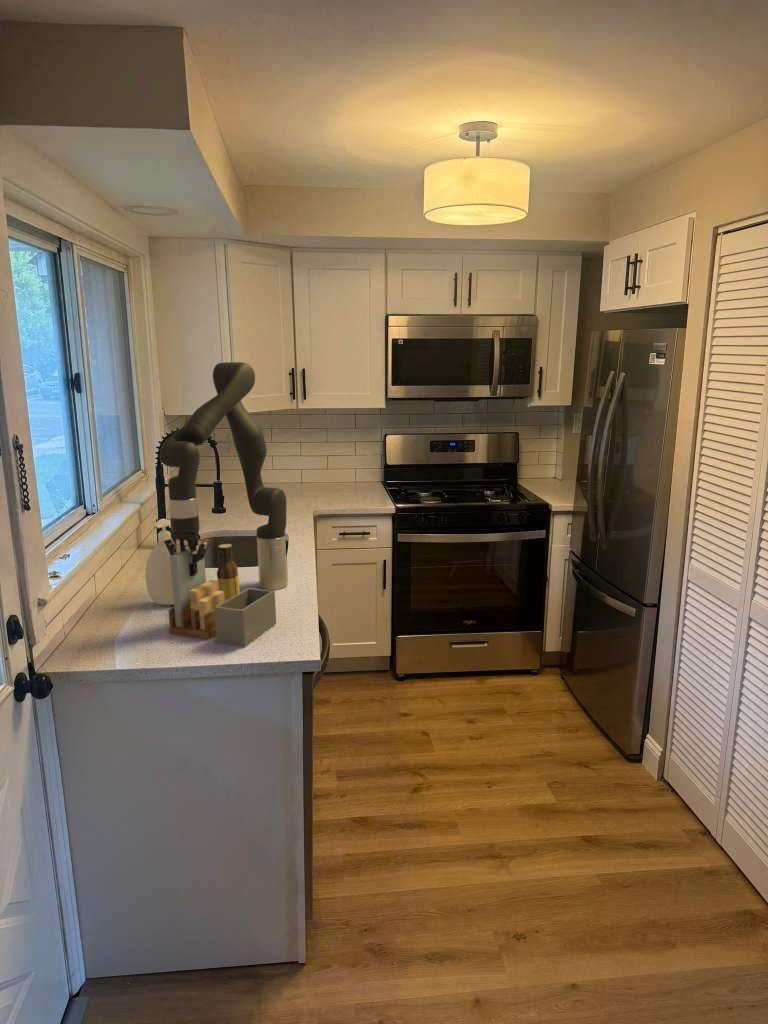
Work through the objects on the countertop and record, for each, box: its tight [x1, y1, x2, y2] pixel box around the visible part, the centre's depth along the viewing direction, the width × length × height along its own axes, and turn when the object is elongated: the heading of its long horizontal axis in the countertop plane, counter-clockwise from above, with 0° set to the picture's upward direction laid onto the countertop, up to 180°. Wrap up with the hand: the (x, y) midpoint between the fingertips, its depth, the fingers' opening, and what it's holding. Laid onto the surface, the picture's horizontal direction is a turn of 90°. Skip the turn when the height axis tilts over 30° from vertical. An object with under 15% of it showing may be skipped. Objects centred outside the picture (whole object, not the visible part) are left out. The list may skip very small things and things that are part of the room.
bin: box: [214, 587, 277, 648], centre depth 180 cm, size 17×9×10 cm, turn 160°
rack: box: [167, 606, 216, 640], centre depth 185 cm, size 14×13×7 cm
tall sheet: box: [170, 545, 207, 627], centre depth 185 cm, size 12×2×20 cm, turn 160°
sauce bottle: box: [216, 543, 241, 601], centre depth 199 cm, size 7×6×20 cm
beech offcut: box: [198, 591, 225, 630], centre depth 183 cm, size 9×2×8 cm, turn 160°
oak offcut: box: [189, 579, 218, 625], centre depth 186 cm, size 10×2×10 cm, turn 160°
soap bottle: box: [145, 518, 175, 606], centre depth 202 cm, size 14×8×27 cm, turn 81°
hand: (188, 574), depth 184 cm, fingers closed on tall sheet, 2 cm apart
